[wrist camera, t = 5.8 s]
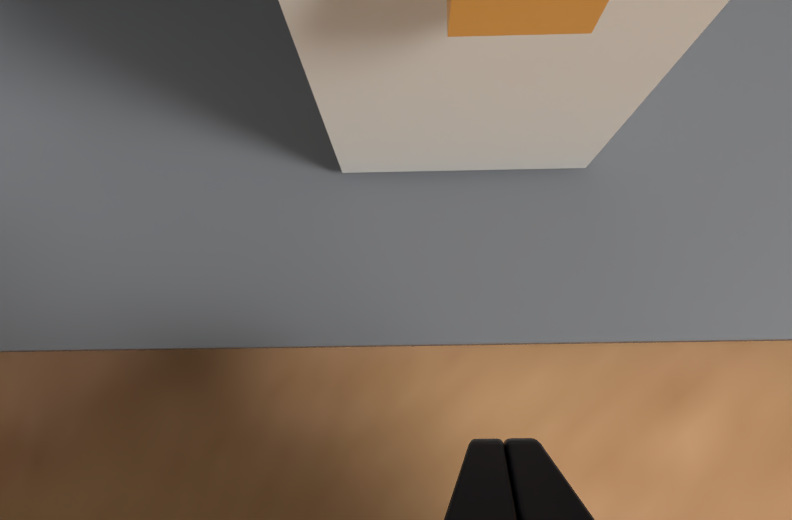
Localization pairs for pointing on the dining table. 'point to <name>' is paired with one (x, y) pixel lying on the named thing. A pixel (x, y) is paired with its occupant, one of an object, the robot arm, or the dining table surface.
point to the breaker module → (485, 76)
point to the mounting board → (368, 199)
